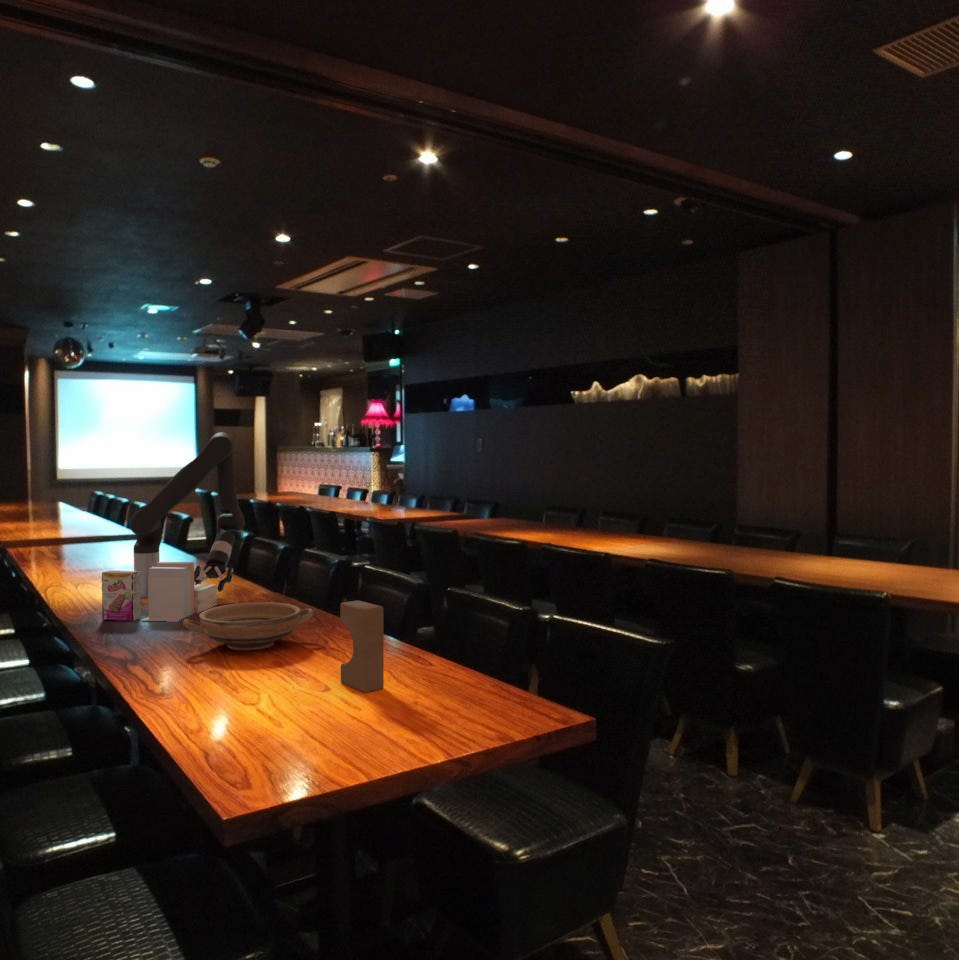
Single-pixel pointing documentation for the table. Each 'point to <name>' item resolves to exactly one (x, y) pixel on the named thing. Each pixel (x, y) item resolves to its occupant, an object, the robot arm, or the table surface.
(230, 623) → the ceramic bowl
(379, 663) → the decorative block
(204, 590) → the beige rectangular block
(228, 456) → the robot arm
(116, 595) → the candy bar box
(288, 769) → the table surface
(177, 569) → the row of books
